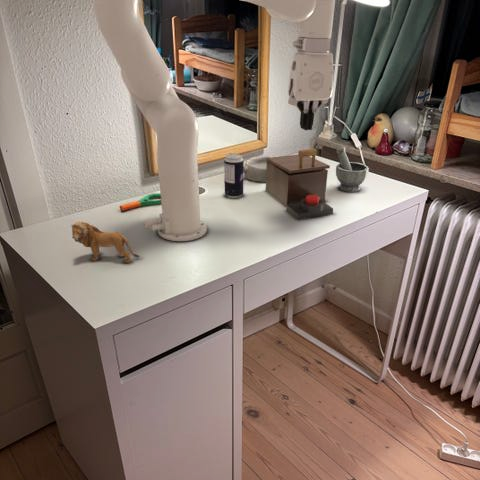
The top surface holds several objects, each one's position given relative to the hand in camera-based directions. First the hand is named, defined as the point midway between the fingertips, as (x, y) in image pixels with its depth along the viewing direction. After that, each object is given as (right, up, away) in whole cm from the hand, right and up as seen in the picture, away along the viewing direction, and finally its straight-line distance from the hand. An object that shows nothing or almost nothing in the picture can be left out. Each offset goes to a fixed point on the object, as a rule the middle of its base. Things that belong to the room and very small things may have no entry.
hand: (306, 128), depth 123 cm
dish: (-9, -1, +40) cm, 41 cm away
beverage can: (-19, -11, +25) cm, 33 cm away
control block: (+3, -18, +14) cm, 23 cm away
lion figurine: (-48, -34, -9) cm, 60 cm away
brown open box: (0, -11, +25) cm, 27 cm away
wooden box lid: (0, -3, +19) cm, 19 cm away
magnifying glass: (-45, -15, +19) cm, 51 cm away
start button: (+3, -16, +12) cm, 20 cm away
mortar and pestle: (+17, -7, +31) cm, 36 cm away
